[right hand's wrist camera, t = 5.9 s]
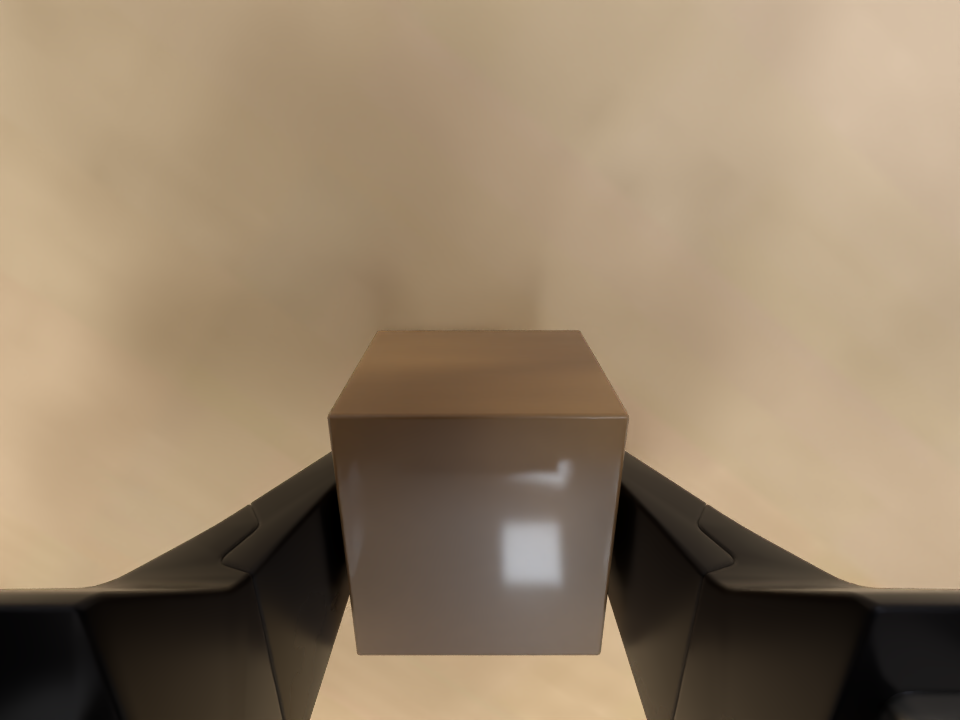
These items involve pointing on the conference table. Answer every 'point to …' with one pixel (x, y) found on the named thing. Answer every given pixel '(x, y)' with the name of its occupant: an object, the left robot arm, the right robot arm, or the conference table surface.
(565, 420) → the block
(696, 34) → the conference table surface
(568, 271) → the conference table surface
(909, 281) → the conference table surface
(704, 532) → the right robot arm
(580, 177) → the conference table surface
